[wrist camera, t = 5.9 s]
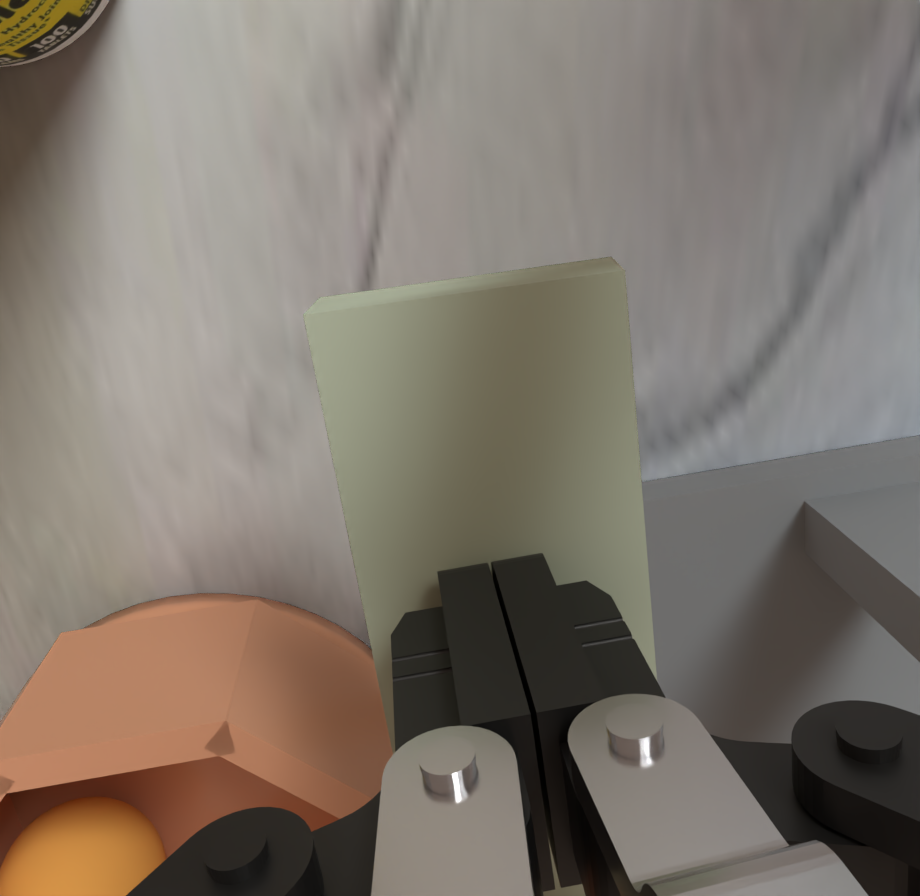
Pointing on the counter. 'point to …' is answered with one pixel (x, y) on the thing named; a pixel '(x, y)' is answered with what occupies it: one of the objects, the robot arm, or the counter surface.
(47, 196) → the counter surface
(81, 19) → the pill bottle
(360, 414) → the chute
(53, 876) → the ball
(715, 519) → the chute stand
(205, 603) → the orange octagonal bowl
